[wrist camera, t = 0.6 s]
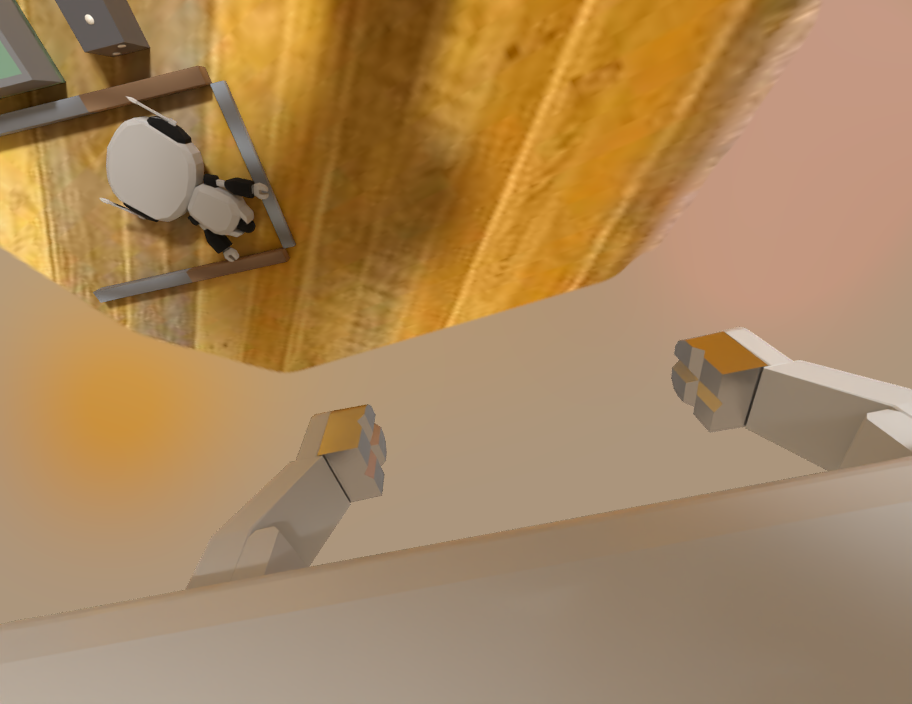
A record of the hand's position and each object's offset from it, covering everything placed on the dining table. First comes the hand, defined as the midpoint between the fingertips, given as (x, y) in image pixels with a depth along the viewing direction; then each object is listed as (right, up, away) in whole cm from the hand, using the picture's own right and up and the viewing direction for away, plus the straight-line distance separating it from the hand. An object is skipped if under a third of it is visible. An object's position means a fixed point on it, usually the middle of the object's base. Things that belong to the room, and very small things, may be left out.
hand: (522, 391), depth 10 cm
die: (-35, +33, +28) cm, 56 cm away
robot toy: (-32, +21, +36) cm, 53 cm away
